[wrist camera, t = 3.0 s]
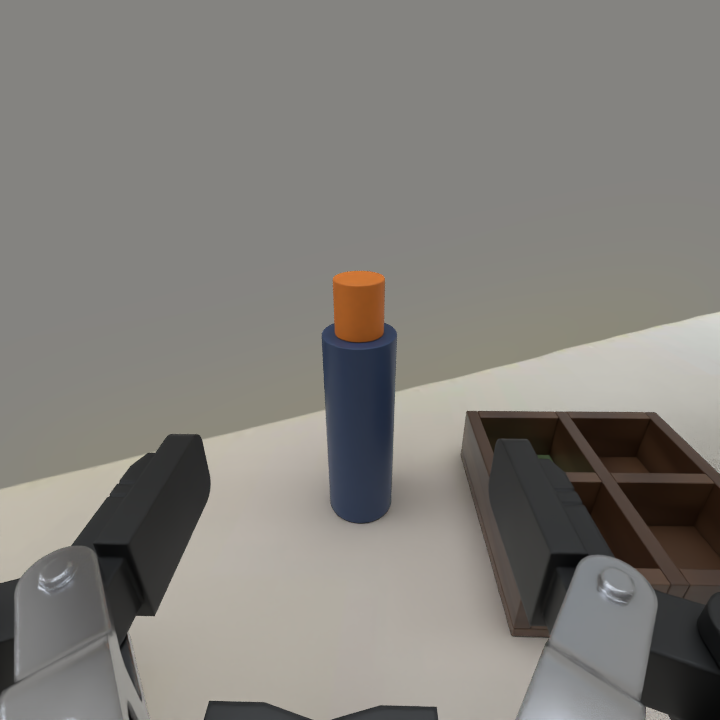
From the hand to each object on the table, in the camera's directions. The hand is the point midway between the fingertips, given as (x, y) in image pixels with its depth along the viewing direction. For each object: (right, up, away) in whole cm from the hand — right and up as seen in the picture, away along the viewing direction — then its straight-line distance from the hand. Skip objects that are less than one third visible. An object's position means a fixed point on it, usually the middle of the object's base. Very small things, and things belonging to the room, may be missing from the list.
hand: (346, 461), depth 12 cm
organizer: (+14, -7, +14) cm, 22 cm away
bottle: (0, -6, +17) cm, 18 cm away
